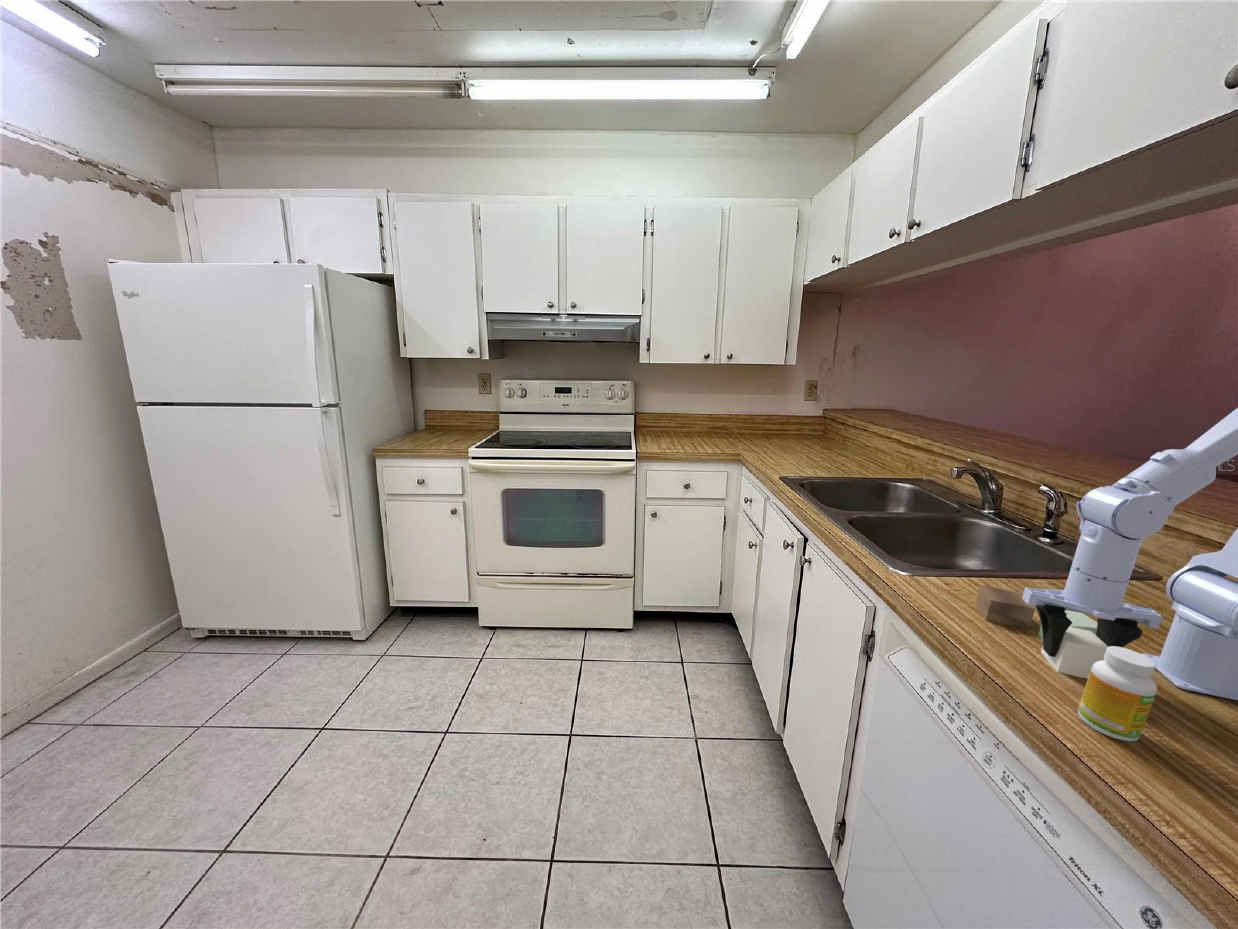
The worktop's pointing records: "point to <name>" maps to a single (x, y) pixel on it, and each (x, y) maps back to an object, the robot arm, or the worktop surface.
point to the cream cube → (1077, 653)
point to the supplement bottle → (1119, 694)
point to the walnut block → (1004, 607)
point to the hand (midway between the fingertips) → (1072, 657)
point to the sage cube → (1078, 622)
